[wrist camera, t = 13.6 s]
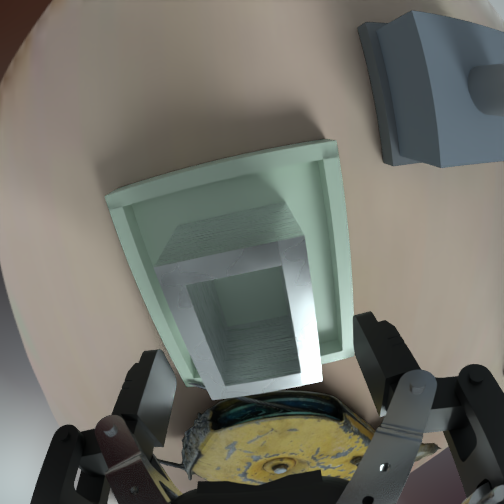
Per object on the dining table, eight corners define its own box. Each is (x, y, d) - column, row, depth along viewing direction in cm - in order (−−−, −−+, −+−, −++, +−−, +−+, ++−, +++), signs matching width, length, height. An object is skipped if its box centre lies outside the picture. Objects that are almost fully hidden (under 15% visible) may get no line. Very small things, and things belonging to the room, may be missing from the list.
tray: (326, 138, 15) (336, 140, 13) (346, 339, 20) (354, 356, 19) (117, 188, 15) (104, 196, 14) (189, 369, 21) (186, 387, 19)
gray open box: (285, 201, 15) (304, 235, 11) (305, 323, 19) (322, 380, 14) (177, 225, 16) (153, 267, 11) (216, 340, 19) (212, 400, 14)
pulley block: (395, 499, 25) (148, 489, 19) (382, 469, 30) (156, 444, 25) (472, 429, 21) (188, 403, 16) (449, 398, 27) (195, 346, 21)
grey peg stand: (461, 38, 12) (599, 22, 1) (479, 152, 15) (618, 204, 4) (357, 27, 12) (501, -55, 2) (383, 162, 15) (549, 237, 5)
